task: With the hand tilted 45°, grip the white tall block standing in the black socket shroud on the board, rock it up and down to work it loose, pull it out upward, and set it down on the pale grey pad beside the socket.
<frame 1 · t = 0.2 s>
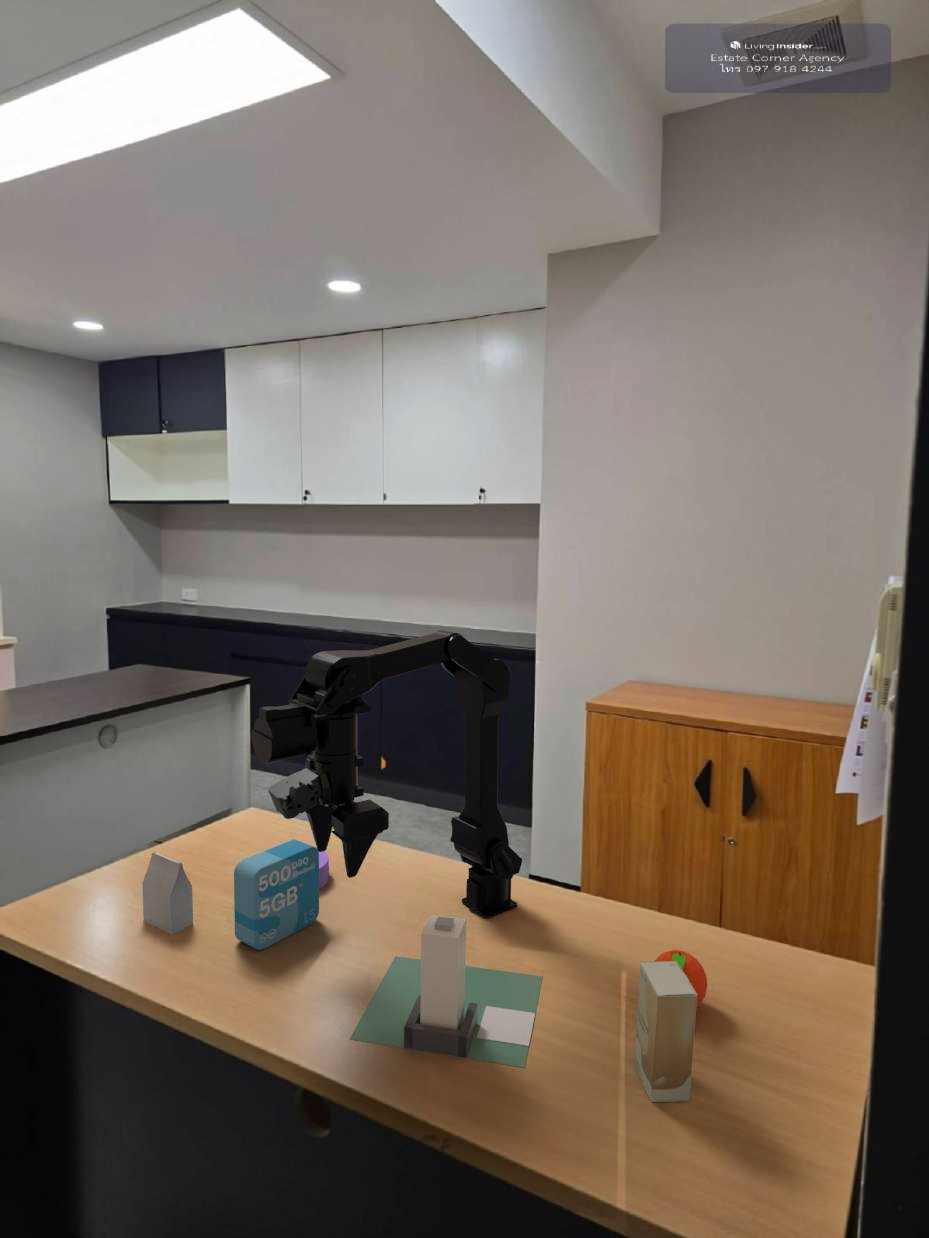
hand: (336, 863, 102), 14 cm above the counter, tool pointing down, fingers open, 9 cm apart
skincare box: (661, 1084, 83), on the counter
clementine: (676, 1010, 95), on the counter
grey milk carton: (168, 923, 114), on the counter
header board: (442, 1040, 89), on the counter
masking tape: (293, 882, 128), on the counter
white tall block: (442, 1032, 88), point 1 cm above the counter, touching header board
data package: (278, 932, 112), on the counter
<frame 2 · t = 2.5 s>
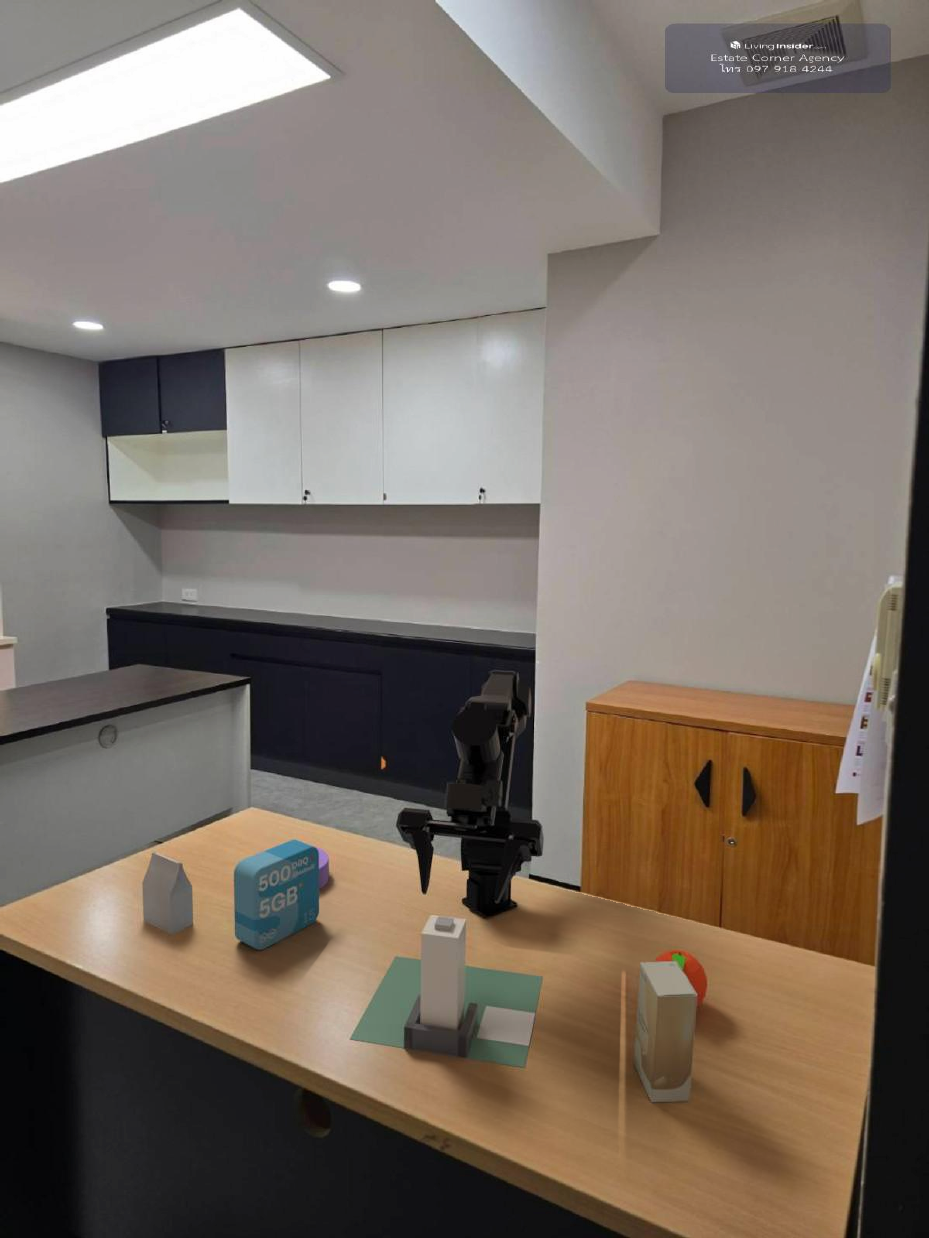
hand: (459, 897, 95), 13 cm above the counter, tool tilted 45°, fingers open, 9 cm apart
nothing on the counter moved.
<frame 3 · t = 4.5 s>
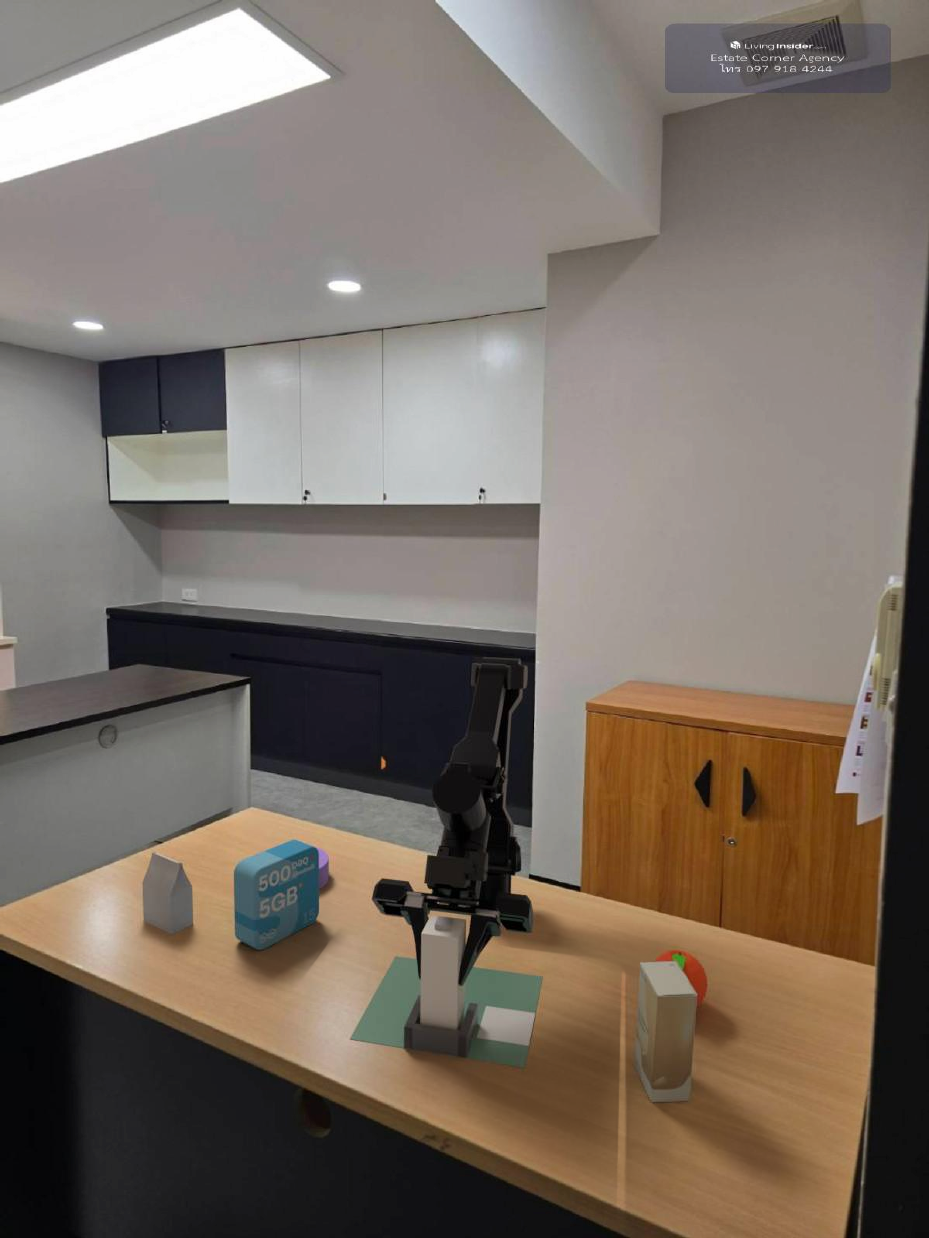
hand: (440, 982, 86), 8 cm above the counter, tool tilted 45°, fingers closed on white tall block, 4 cm apart
white tall block: (442, 1032, 88), point 1 cm above the counter, touching gripper, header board
everything else where it was.
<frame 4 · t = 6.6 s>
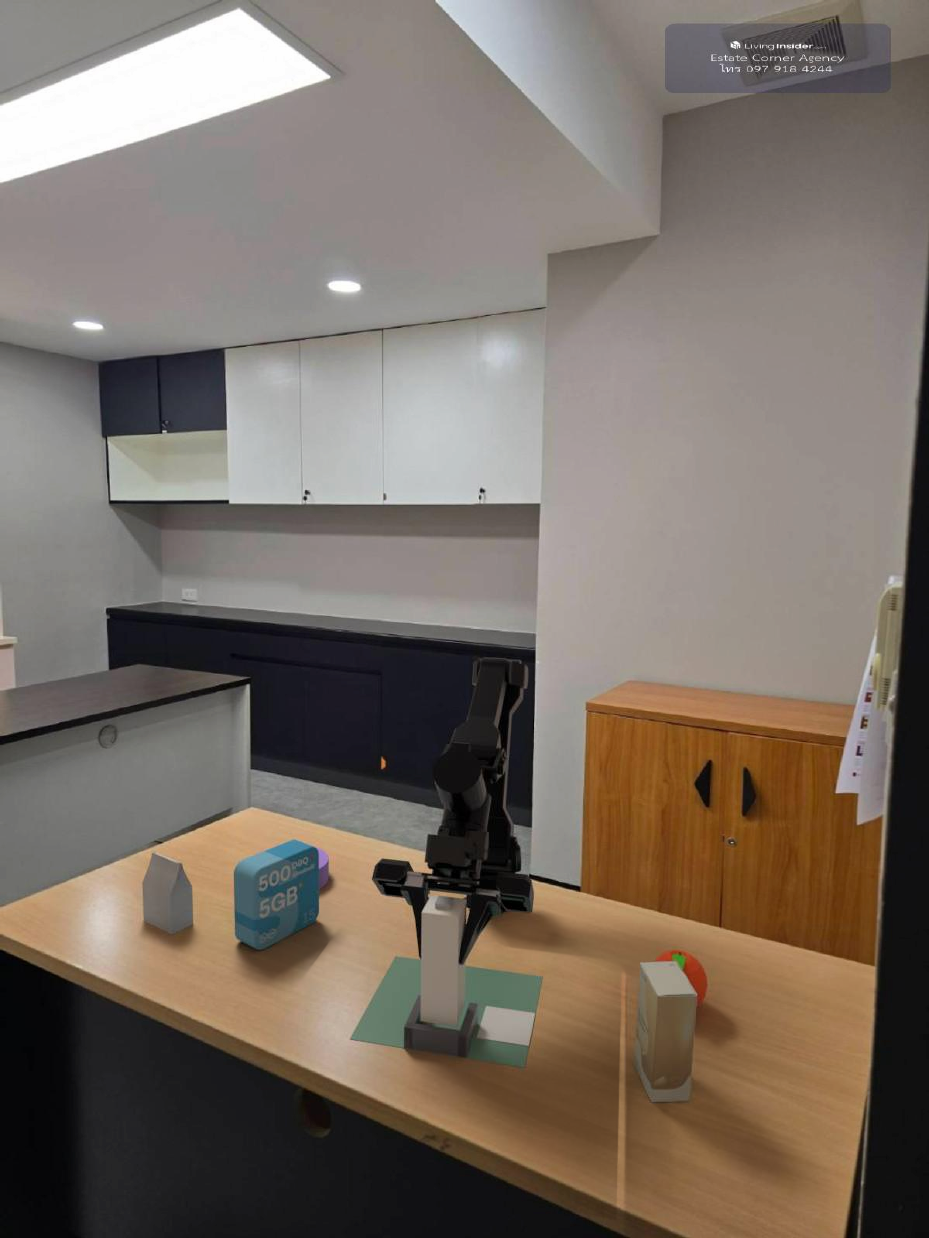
hand: (440, 961, 86), 11 cm above the counter, tool tilted 45°, fingers closed on white tall block, 4 cm apart
white tall block: (442, 1012, 88), point 3 cm above the counter, touching gripper
everything else where it was.
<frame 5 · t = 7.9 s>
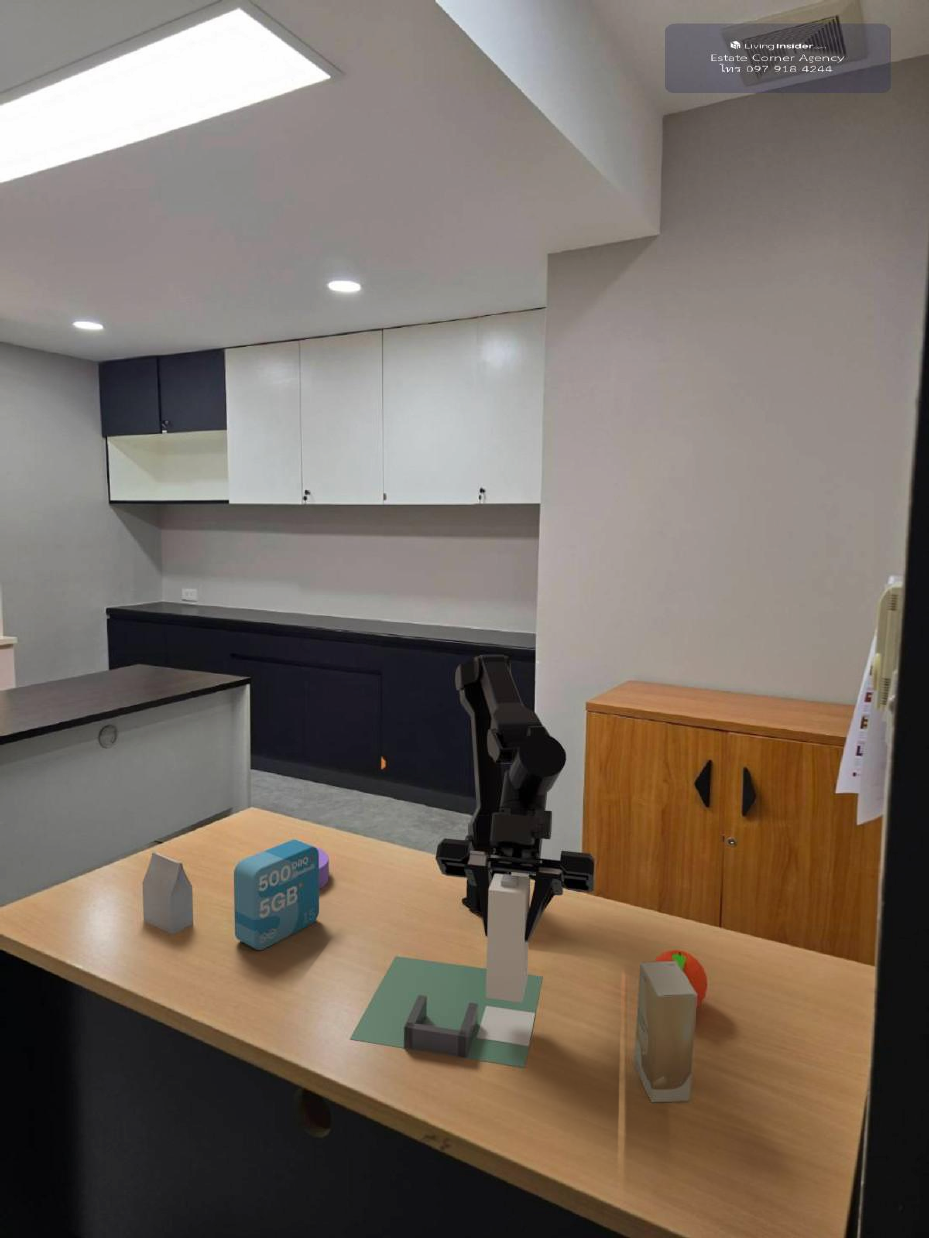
hand: (506, 938, 87), 13 cm above the counter, tool tilted 45°, fingers closed on white tall block, 4 cm apart
white tall block: (506, 989, 90), point 5 cm above the counter, touching gripper
everything else where it was.
when the fingers open (9 cm above the counter, at t = 8.8 s): white tall block stays where it is, resting on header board.
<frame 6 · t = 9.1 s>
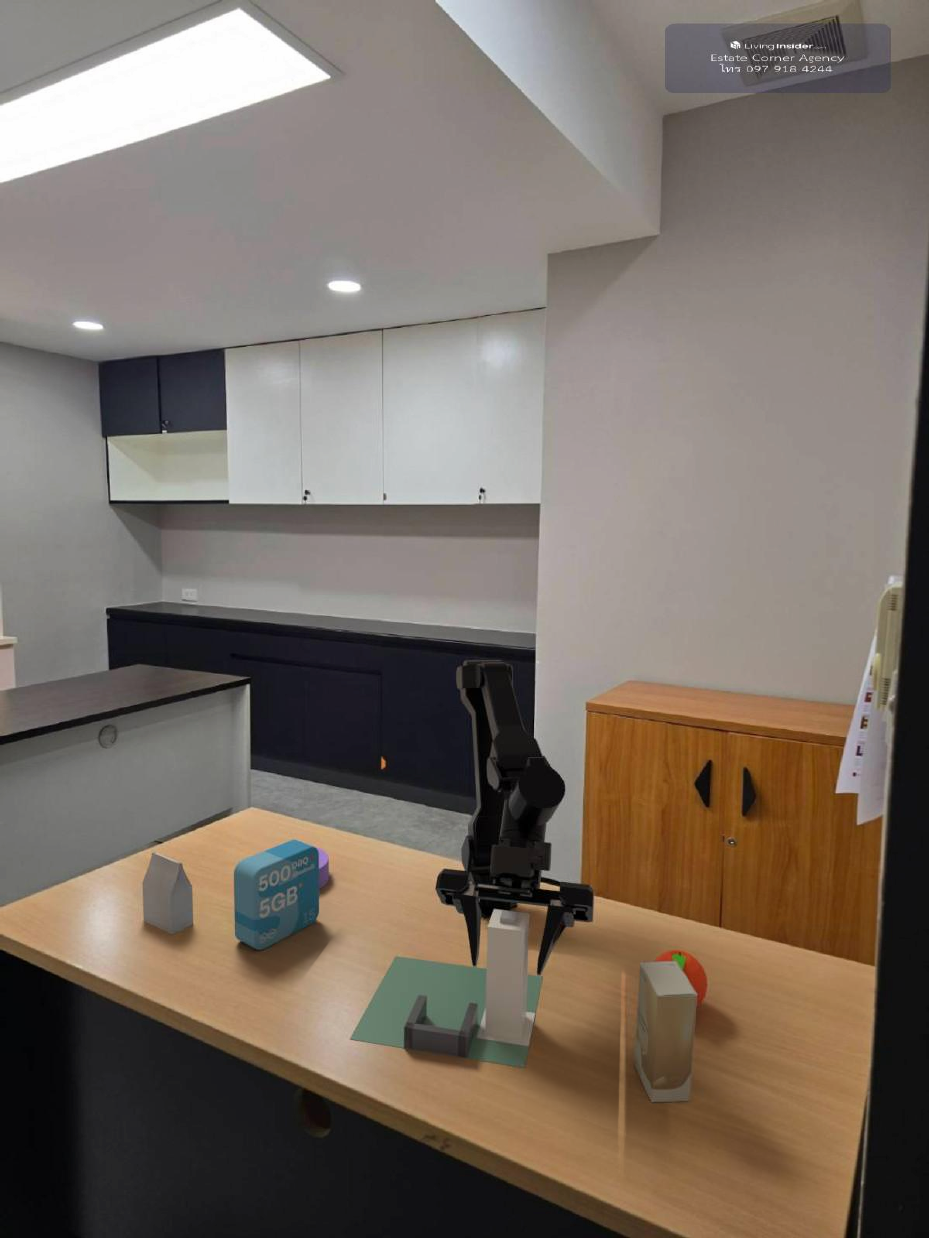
hand: (506, 969, 88), 9 cm above the counter, tool tilted 45°, fingers open, 7 cm apart
white tall block: (506, 1024, 90), point 1 cm above the counter, touching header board
everything else where it was.
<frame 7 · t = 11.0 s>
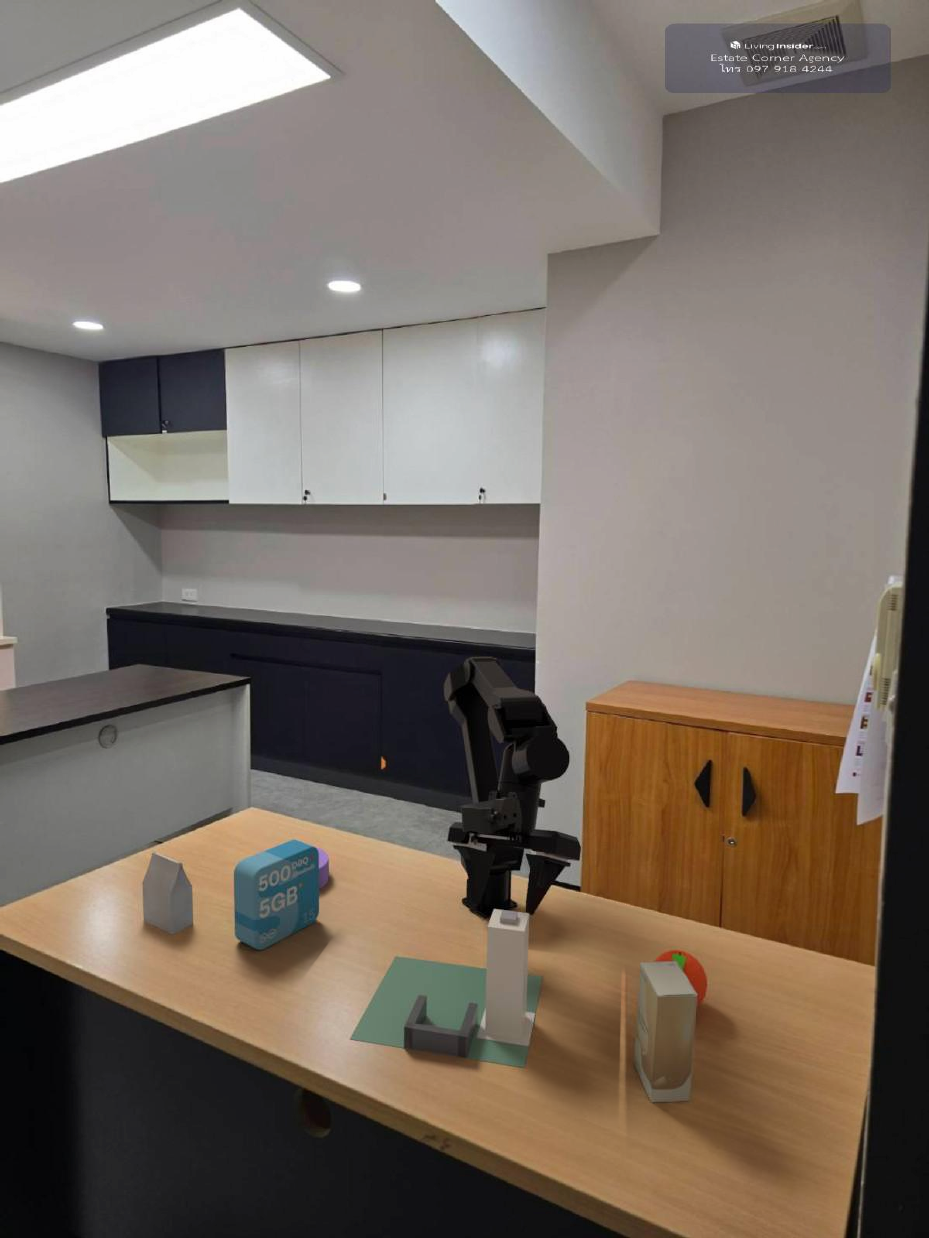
hand: (501, 909, 98), 11 cm above the counter, tool tilted 30°, fingers open, 9 cm apart
nothing on the counter moved.
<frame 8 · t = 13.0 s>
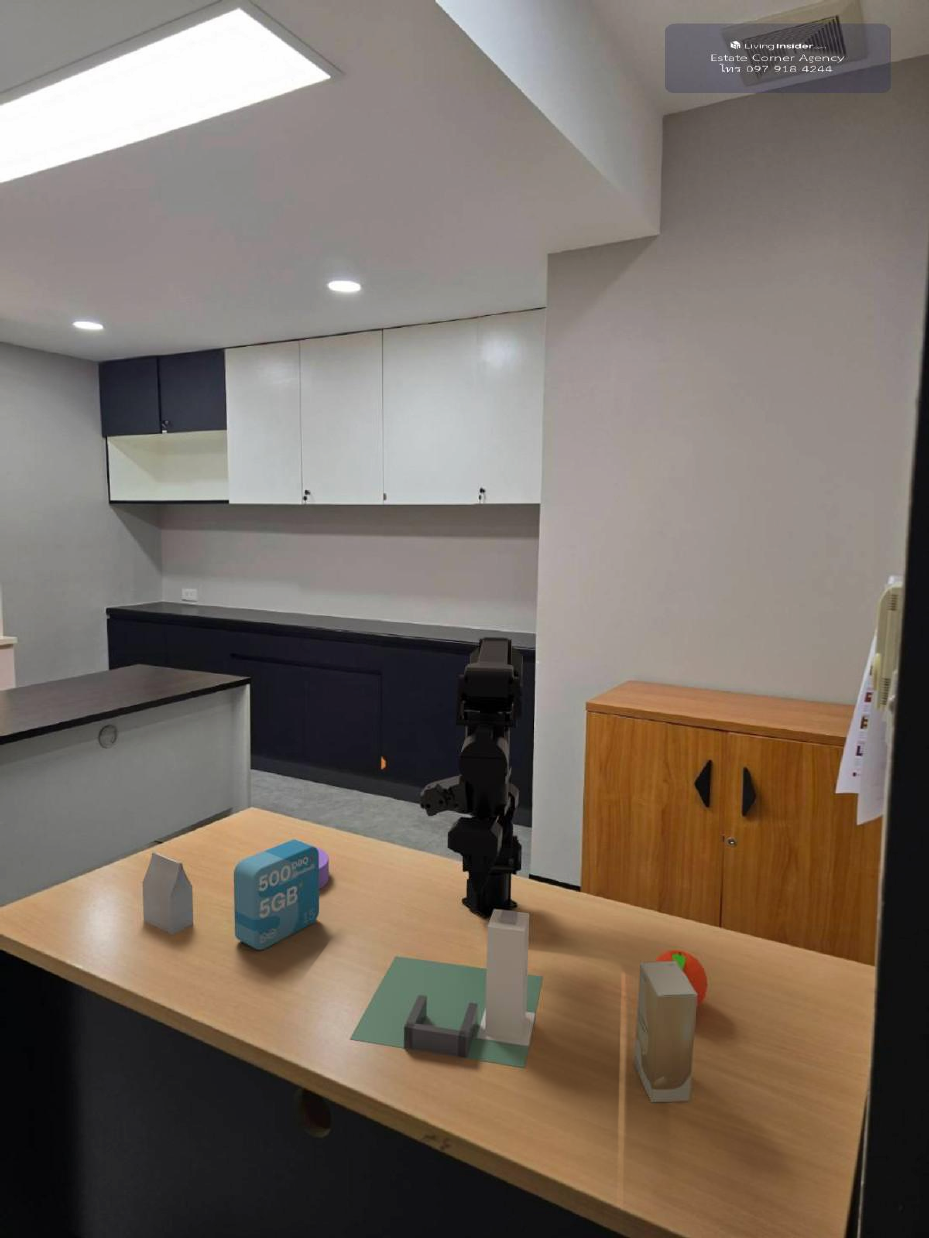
hand: (484, 876, 102), 13 cm above the counter, tool pointing down, fingers open, 9 cm apart
nothing on the counter moved.
at the end: white tall block inside the target area (0.0 cm from its centre), point 1.1 cm above the counter; white tall block tilted 0°; the gripper is holding nothing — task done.
